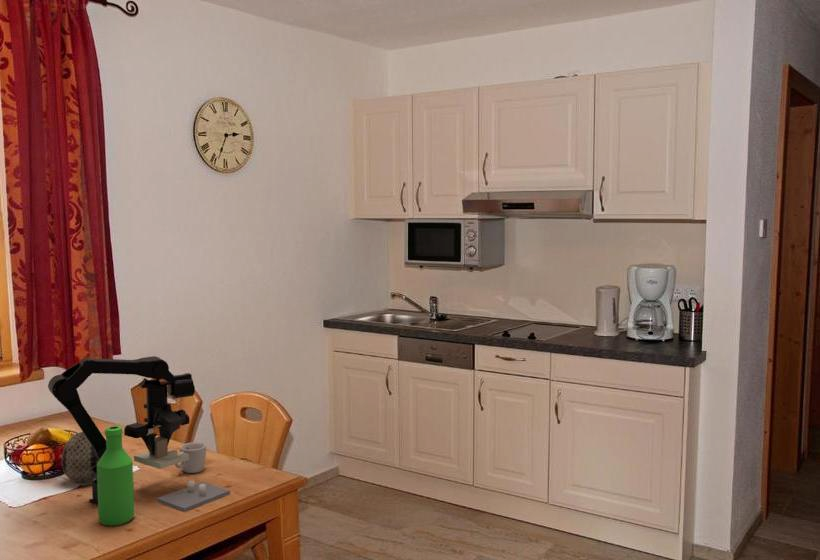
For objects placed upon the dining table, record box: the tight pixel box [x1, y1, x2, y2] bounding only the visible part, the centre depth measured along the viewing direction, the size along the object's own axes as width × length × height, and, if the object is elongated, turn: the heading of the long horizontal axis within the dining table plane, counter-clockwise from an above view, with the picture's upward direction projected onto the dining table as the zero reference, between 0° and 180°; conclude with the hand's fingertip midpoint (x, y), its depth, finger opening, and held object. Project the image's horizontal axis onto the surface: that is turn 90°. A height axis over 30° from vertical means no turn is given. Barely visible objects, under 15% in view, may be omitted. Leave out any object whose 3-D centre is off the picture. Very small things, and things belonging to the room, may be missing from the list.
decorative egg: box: [61, 431, 98, 484], centre depth 227 cm, size 12×12×15 cm
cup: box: [174, 441, 207, 474], centre depth 236 cm, size 11×8×8 cm
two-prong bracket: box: [133, 435, 189, 470], centre depth 221 cm, size 10×12×7 cm
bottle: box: [97, 425, 135, 527], centre depth 199 cm, size 9×9×25 cm
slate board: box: [156, 479, 231, 513], centre depth 216 cm, size 16×12×4 cm
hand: (158, 453), depth 220 cm, fingers closed on two-prong bracket, 4 cm apart
